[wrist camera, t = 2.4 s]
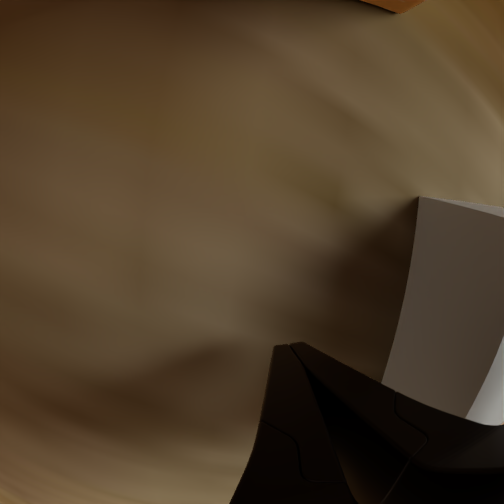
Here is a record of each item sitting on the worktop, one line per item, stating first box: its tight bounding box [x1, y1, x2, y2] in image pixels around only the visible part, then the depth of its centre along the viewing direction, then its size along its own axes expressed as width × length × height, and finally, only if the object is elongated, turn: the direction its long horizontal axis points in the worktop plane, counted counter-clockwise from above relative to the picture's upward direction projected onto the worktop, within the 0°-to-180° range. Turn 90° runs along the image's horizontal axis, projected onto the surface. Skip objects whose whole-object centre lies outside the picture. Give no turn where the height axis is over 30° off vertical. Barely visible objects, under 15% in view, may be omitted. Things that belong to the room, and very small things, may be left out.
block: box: [381, 196, 504, 425], centre depth 9 cm, size 8×8×5 cm
